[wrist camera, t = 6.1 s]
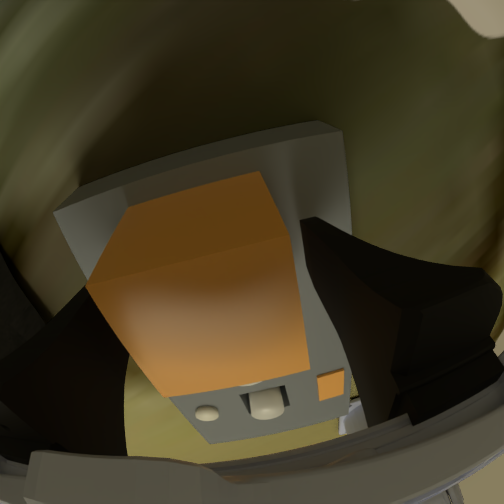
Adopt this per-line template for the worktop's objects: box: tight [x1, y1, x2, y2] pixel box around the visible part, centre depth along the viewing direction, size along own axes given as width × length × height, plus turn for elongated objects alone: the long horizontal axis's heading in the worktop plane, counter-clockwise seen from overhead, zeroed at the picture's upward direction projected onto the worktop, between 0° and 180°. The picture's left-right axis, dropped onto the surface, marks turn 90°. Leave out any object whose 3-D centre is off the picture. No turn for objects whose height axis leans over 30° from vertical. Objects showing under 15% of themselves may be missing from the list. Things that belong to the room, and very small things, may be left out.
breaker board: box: [53, 120, 352, 444], centre depth 18 cm, size 12×22×3 cm, turn 12°
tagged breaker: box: [249, 386, 284, 420], centre depth 20 cm, size 2×2×4 cm
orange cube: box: [85, 171, 310, 397], centre depth 10 cm, size 5×5×5 cm
